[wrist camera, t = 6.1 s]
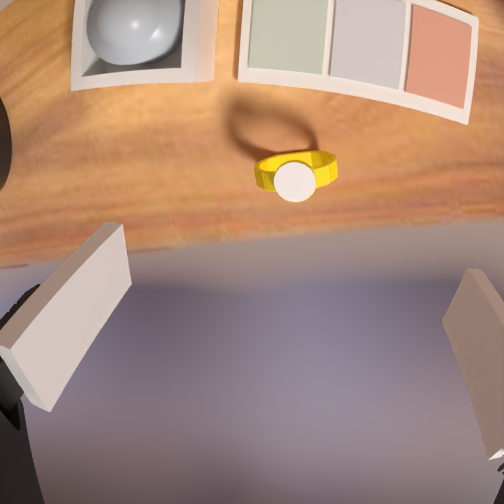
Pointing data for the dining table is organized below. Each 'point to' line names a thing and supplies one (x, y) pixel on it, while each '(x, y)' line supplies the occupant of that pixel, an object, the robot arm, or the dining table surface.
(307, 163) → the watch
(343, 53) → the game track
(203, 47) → the base
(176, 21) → the dome
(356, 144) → the dining table surface
